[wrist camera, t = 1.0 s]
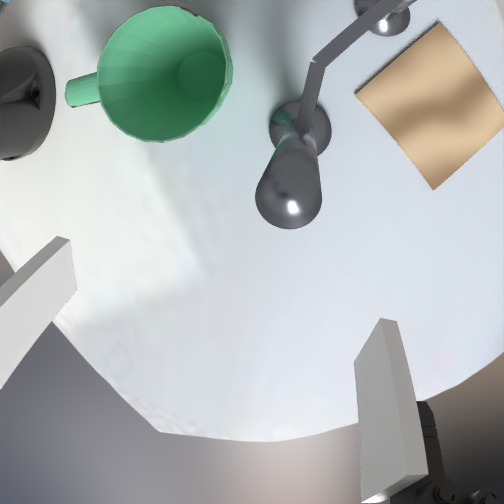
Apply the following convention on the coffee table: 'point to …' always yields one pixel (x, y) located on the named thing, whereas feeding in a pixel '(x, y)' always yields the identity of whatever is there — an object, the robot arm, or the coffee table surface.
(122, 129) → the mug
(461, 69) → the coaster
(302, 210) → the metal wall bracket
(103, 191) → the coffee table surface
